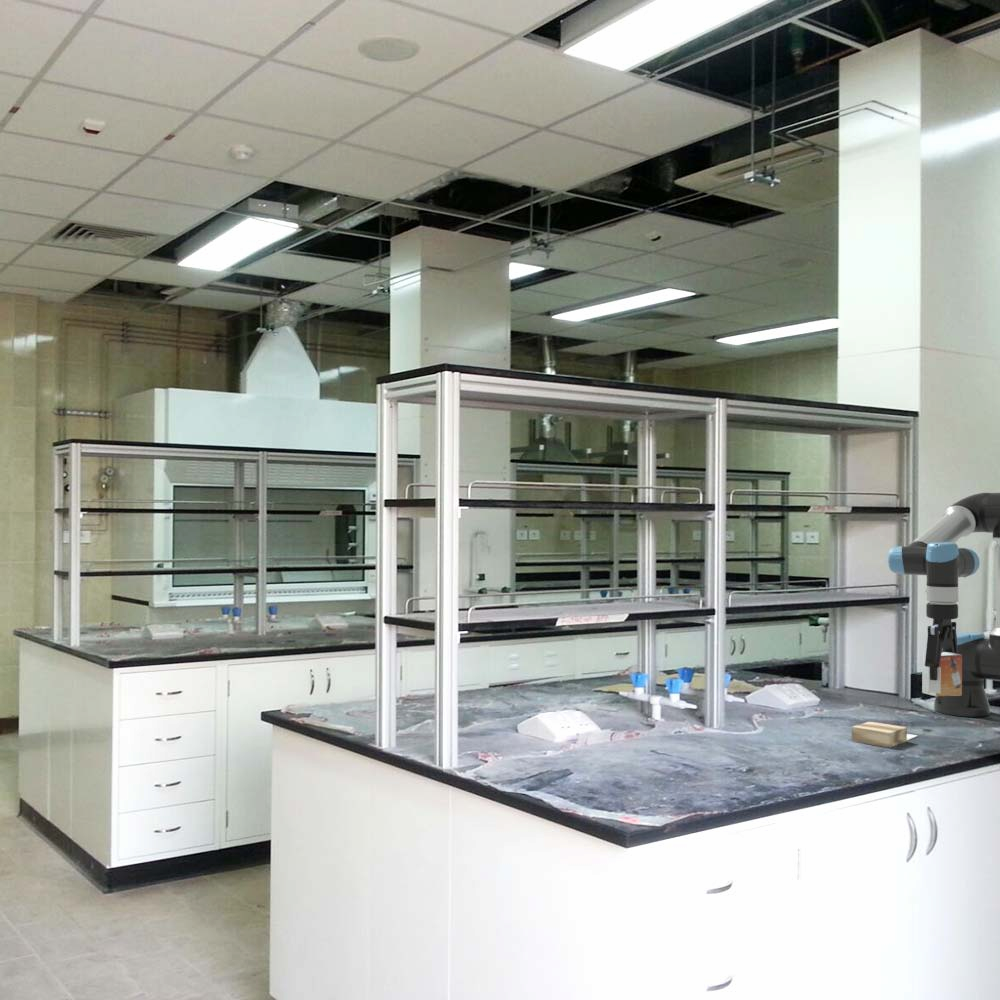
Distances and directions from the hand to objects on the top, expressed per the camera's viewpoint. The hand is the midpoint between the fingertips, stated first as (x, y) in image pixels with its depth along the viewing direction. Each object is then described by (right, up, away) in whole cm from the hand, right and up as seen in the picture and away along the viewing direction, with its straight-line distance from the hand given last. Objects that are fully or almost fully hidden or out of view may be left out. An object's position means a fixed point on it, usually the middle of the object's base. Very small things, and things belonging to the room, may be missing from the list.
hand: (942, 689), depth 269 cm
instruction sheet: (-10, -13, +7) cm, 18 cm away
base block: (-16, -14, 0) cm, 21 cm away
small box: (0, -1, 0) cm, 1 cm away
